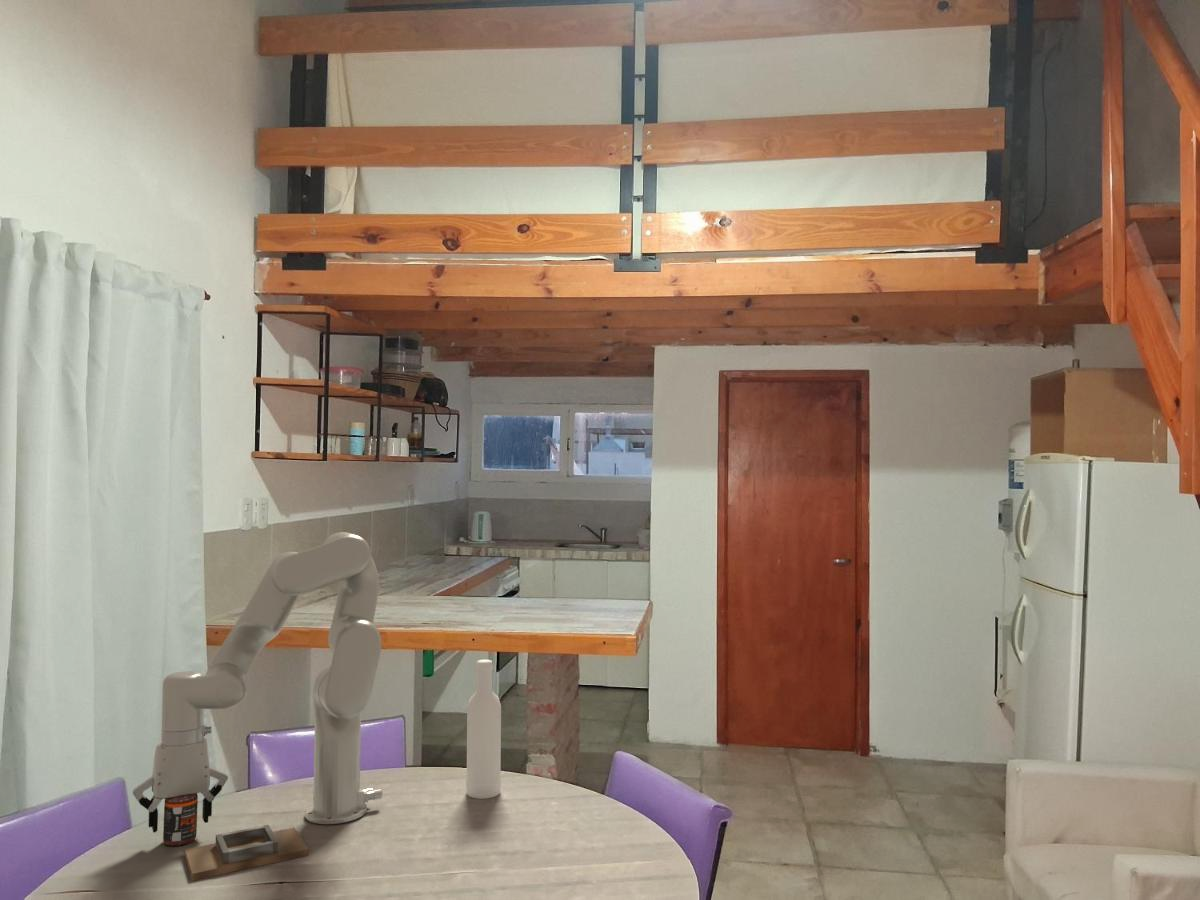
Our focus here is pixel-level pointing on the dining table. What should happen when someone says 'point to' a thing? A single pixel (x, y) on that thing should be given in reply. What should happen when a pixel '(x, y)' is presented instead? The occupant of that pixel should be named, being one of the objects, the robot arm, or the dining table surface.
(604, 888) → the dining table surface
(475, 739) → the bottle
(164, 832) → the supplement bottle
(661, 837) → the dining table surface
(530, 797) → the dining table surface
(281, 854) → the cap board
